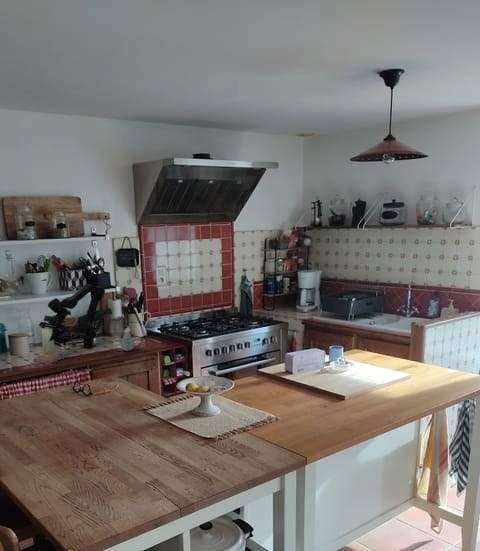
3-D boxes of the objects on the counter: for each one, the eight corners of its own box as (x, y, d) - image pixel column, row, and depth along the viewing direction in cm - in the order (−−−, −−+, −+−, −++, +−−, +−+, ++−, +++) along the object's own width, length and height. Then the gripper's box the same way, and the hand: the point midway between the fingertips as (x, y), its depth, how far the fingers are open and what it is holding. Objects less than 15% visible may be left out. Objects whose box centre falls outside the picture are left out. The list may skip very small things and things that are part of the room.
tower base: (49, 356, 292) (49, 349, 291) (64, 358, 286) (64, 352, 286) (33, 361, 281) (32, 354, 281) (48, 364, 276) (47, 357, 275)
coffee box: (120, 340, 327) (119, 316, 324) (128, 340, 325) (127, 316, 322) (112, 343, 318) (111, 319, 316) (121, 344, 316) (120, 319, 314)
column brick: (51, 348, 287) (50, 325, 285) (56, 350, 283) (54, 327, 281) (41, 350, 283) (39, 327, 281) (45, 353, 279) (44, 329, 277)
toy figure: (113, 354, 295) (112, 329, 293) (113, 349, 305) (112, 325, 303) (142, 352, 299) (141, 328, 297) (140, 347, 309) (140, 324, 307)
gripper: (40, 308, 287) (25, 330, 279) (63, 311, 279) (49, 334, 271) (51, 318, 295) (37, 341, 287) (74, 321, 287) (61, 345, 279)
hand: (46, 340), depth 281 cm, fingers closed on column brick, 6 cm apart
